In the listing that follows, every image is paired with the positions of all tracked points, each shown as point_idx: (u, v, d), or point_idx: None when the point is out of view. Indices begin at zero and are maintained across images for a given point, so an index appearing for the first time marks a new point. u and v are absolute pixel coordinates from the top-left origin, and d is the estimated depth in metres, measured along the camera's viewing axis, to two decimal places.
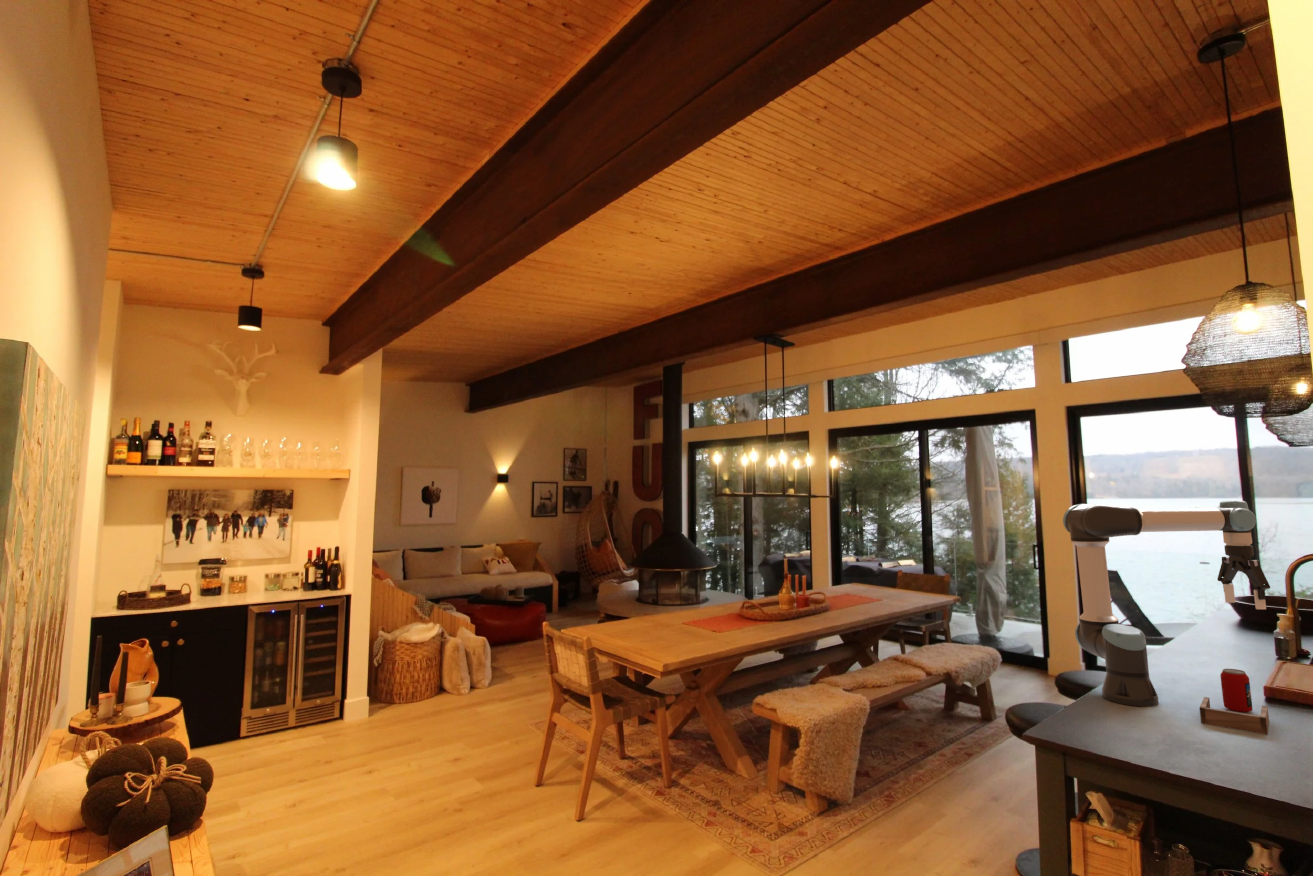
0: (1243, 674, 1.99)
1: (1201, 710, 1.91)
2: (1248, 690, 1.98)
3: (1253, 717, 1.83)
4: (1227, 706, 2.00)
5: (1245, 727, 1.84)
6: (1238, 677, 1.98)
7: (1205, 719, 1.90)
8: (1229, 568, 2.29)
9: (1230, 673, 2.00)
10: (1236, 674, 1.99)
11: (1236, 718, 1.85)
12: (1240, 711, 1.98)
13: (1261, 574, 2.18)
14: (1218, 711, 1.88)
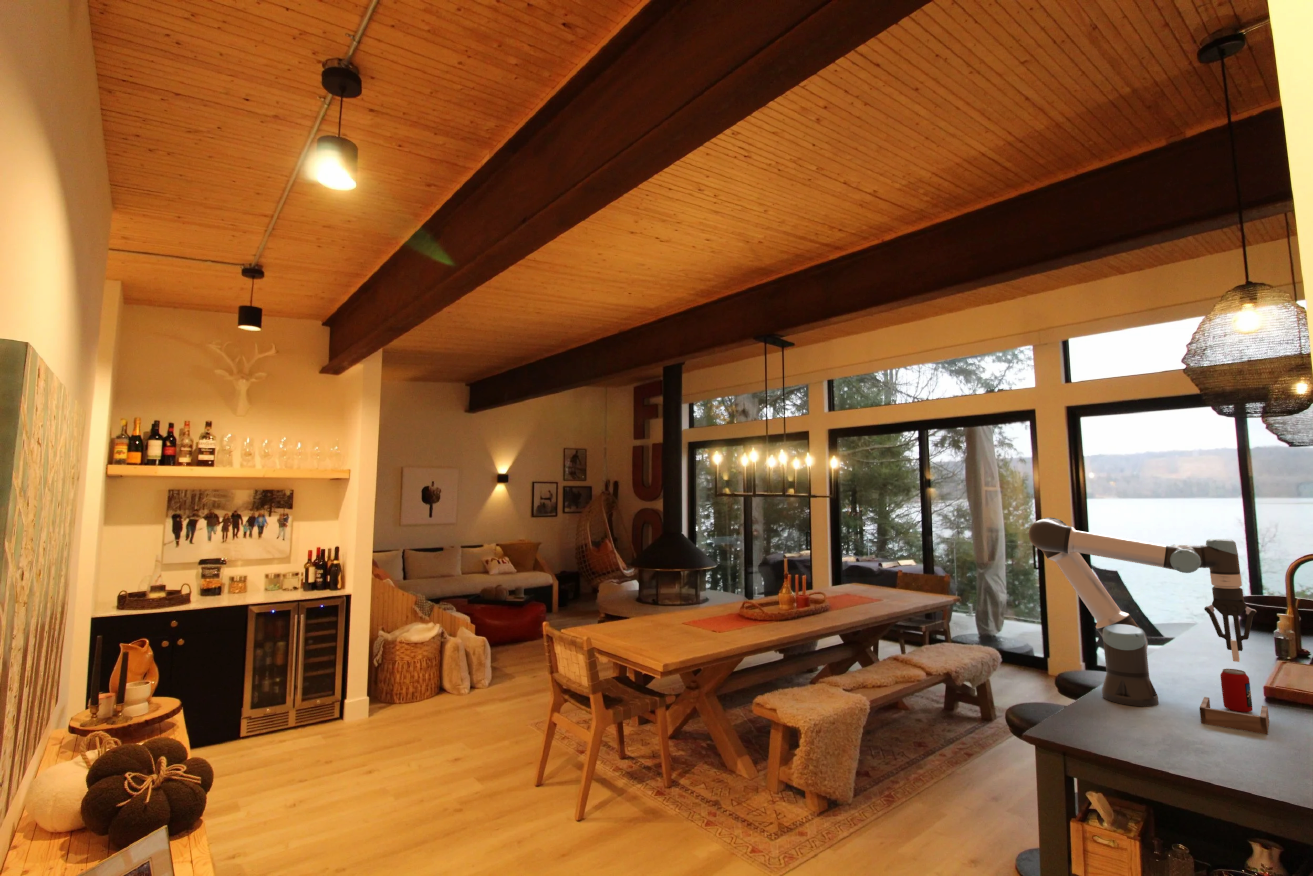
0: (1243, 674, 1.99)
1: (1201, 710, 1.91)
2: (1248, 690, 1.98)
3: (1253, 717, 1.83)
4: (1227, 706, 2.00)
5: (1245, 727, 1.84)
6: (1238, 677, 1.98)
7: (1205, 719, 1.90)
8: None
9: (1230, 673, 2.00)
10: (1236, 674, 1.99)
11: (1236, 718, 1.85)
12: (1240, 711, 1.98)
13: (1212, 622, 2.12)
14: (1218, 711, 1.88)
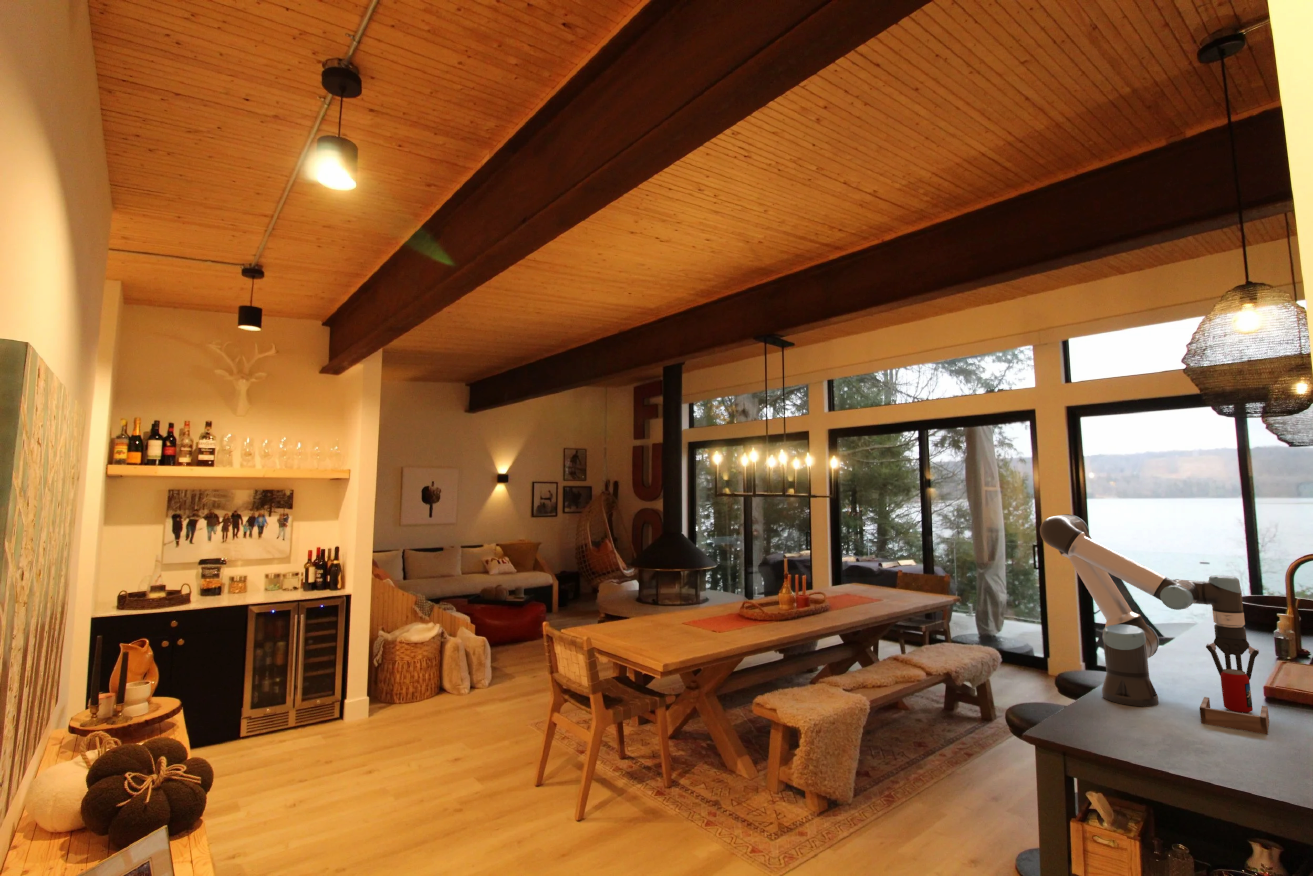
0: (1243, 674, 1.98)
1: (1201, 710, 1.91)
2: (1248, 690, 1.97)
3: (1253, 717, 1.83)
4: (1227, 706, 2.00)
5: (1245, 727, 1.84)
6: (1237, 678, 1.98)
7: (1205, 719, 1.90)
8: None
9: (1230, 673, 2.00)
10: (1236, 674, 1.99)
11: (1236, 718, 1.85)
12: (1240, 711, 1.97)
13: (1214, 660, 2.08)
14: (1218, 711, 1.88)
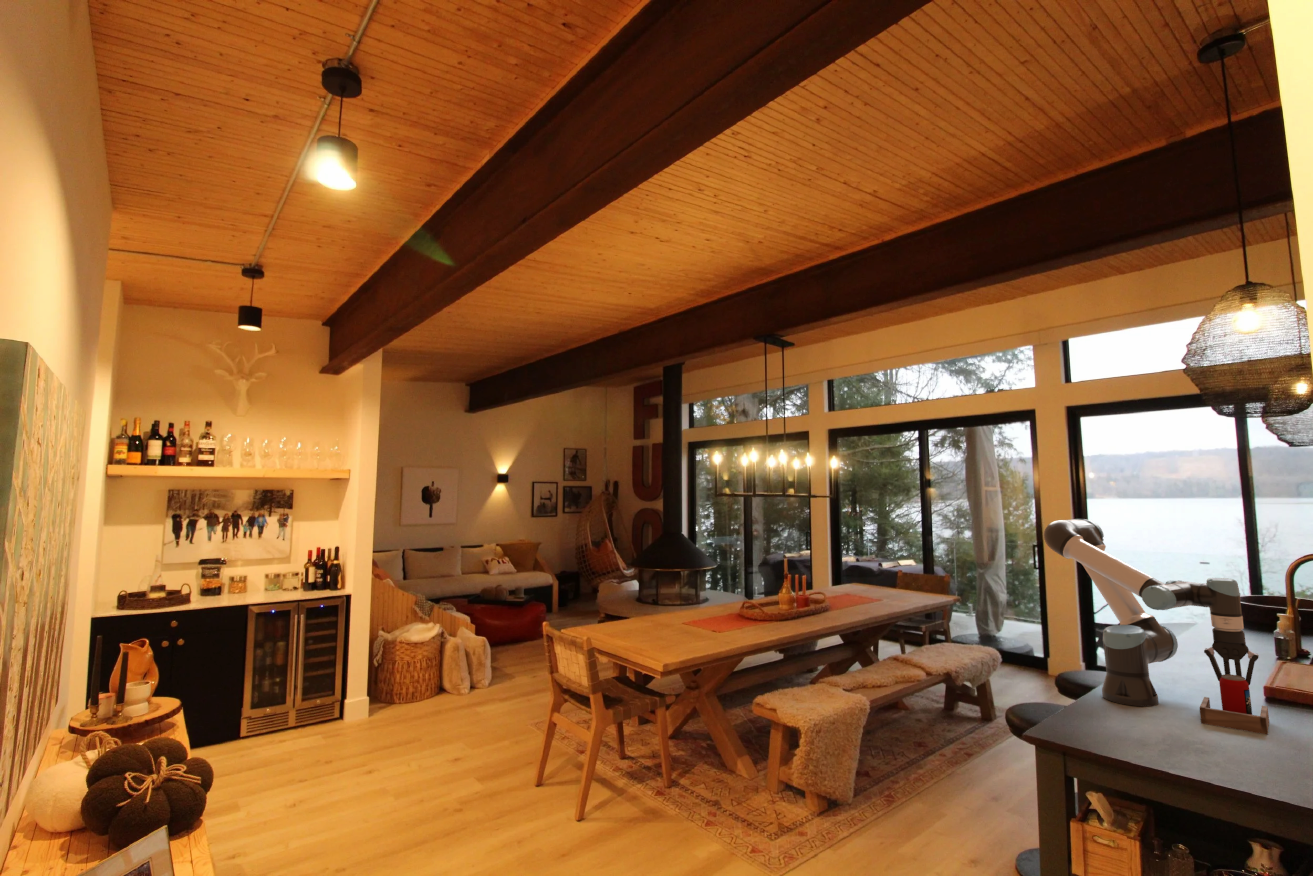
0: (1242, 680, 1.93)
1: (1201, 710, 1.91)
2: (1247, 697, 1.92)
3: (1253, 717, 1.83)
4: None
5: (1245, 727, 1.84)
6: (1236, 684, 1.92)
7: (1205, 719, 1.90)
8: None
9: (1229, 679, 1.94)
10: (1235, 680, 1.93)
11: (1236, 718, 1.85)
12: None
13: (1212, 665, 2.02)
14: (1218, 711, 1.88)
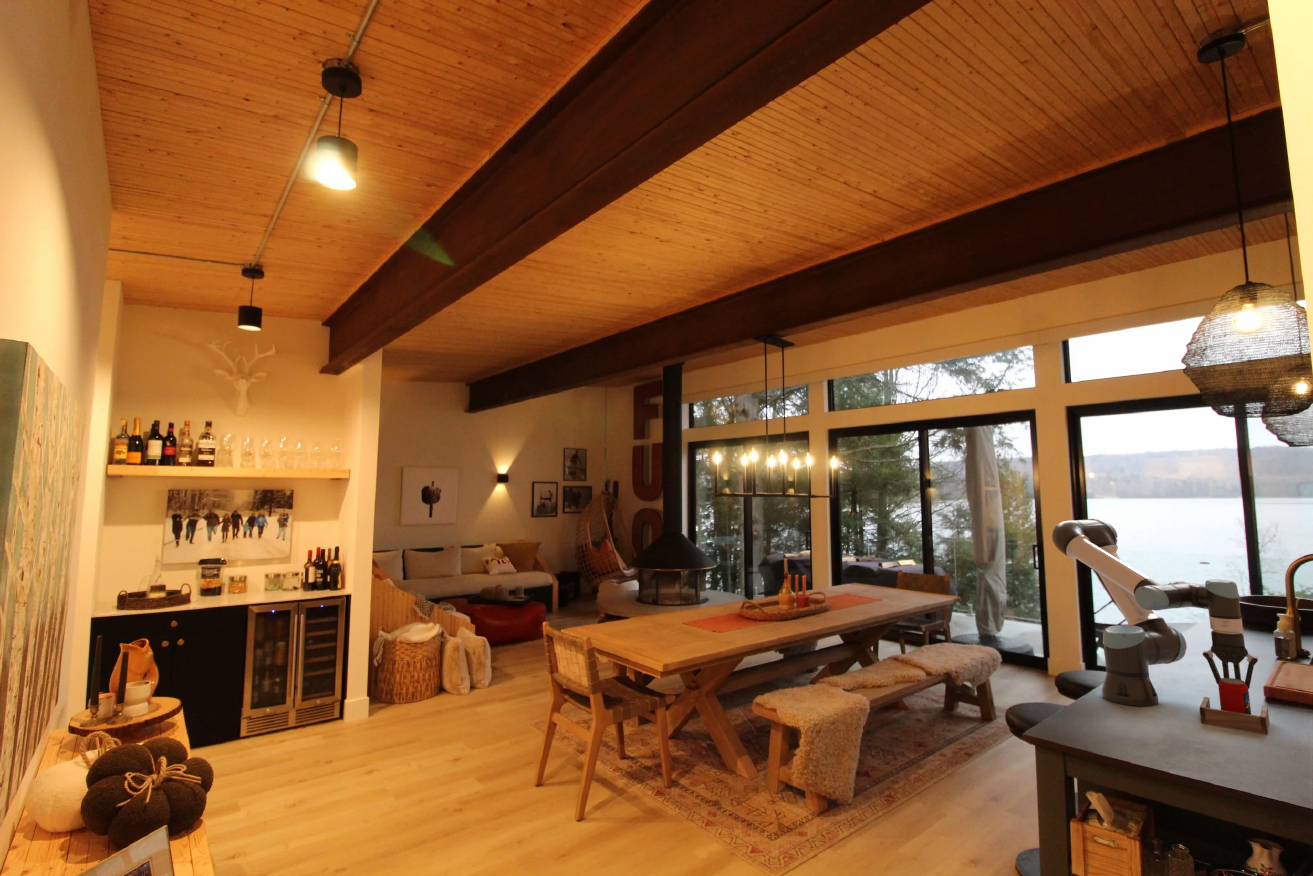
0: (1242, 684, 1.89)
1: (1201, 710, 1.91)
2: (1247, 701, 1.88)
3: (1253, 717, 1.83)
4: None
5: (1245, 727, 1.84)
6: (1236, 687, 1.89)
7: (1205, 719, 1.90)
8: None
9: (1228, 683, 1.91)
10: (1235, 683, 1.90)
11: (1236, 718, 1.85)
12: None
13: (1211, 668, 1.99)
14: (1218, 711, 1.88)
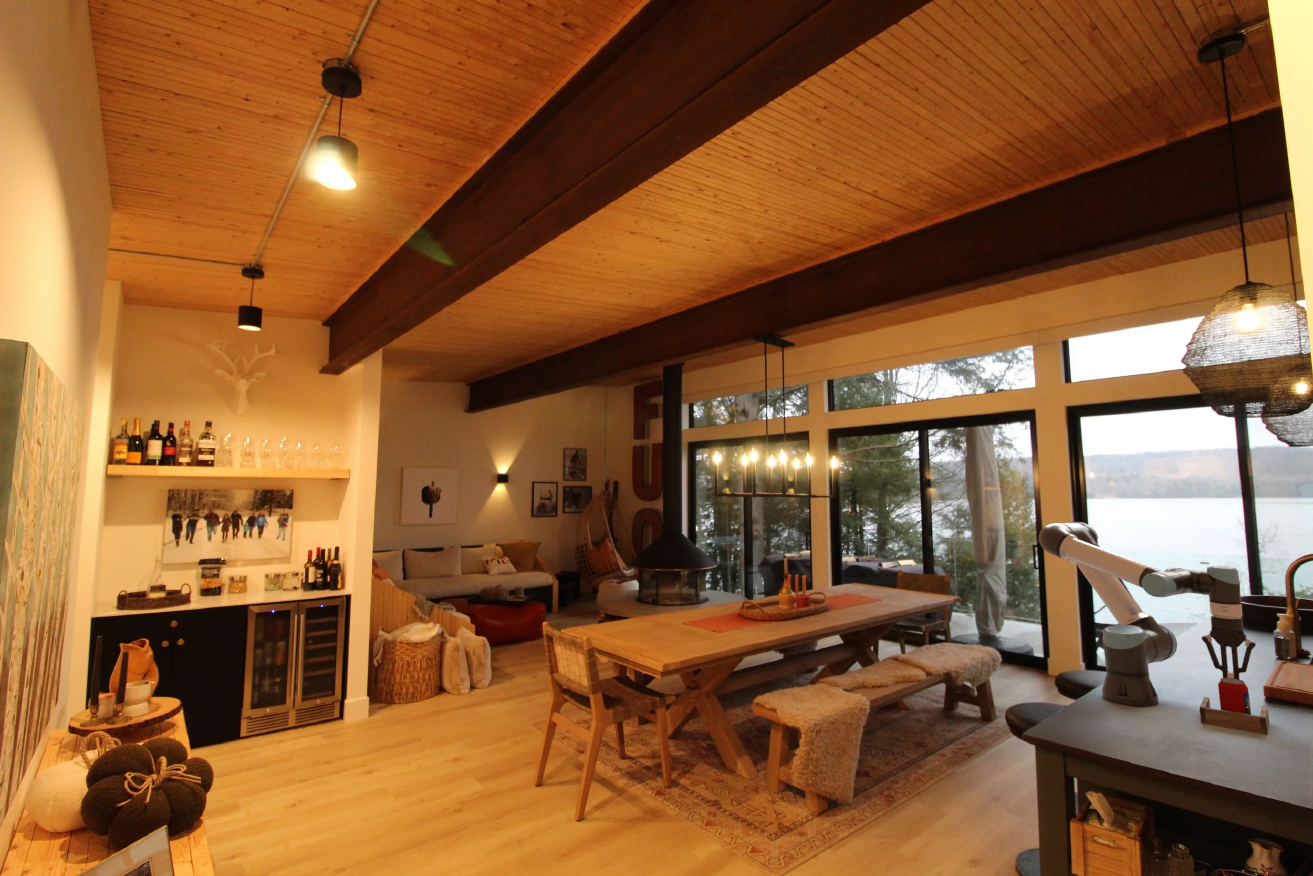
0: (1242, 684, 1.89)
1: (1201, 710, 1.91)
2: (1247, 701, 1.88)
3: (1253, 717, 1.83)
4: None
5: (1245, 727, 1.84)
6: (1236, 687, 1.89)
7: (1205, 719, 1.90)
8: None
9: (1228, 683, 1.91)
10: (1235, 683, 1.90)
11: (1236, 718, 1.85)
12: None
13: None
14: (1218, 711, 1.88)
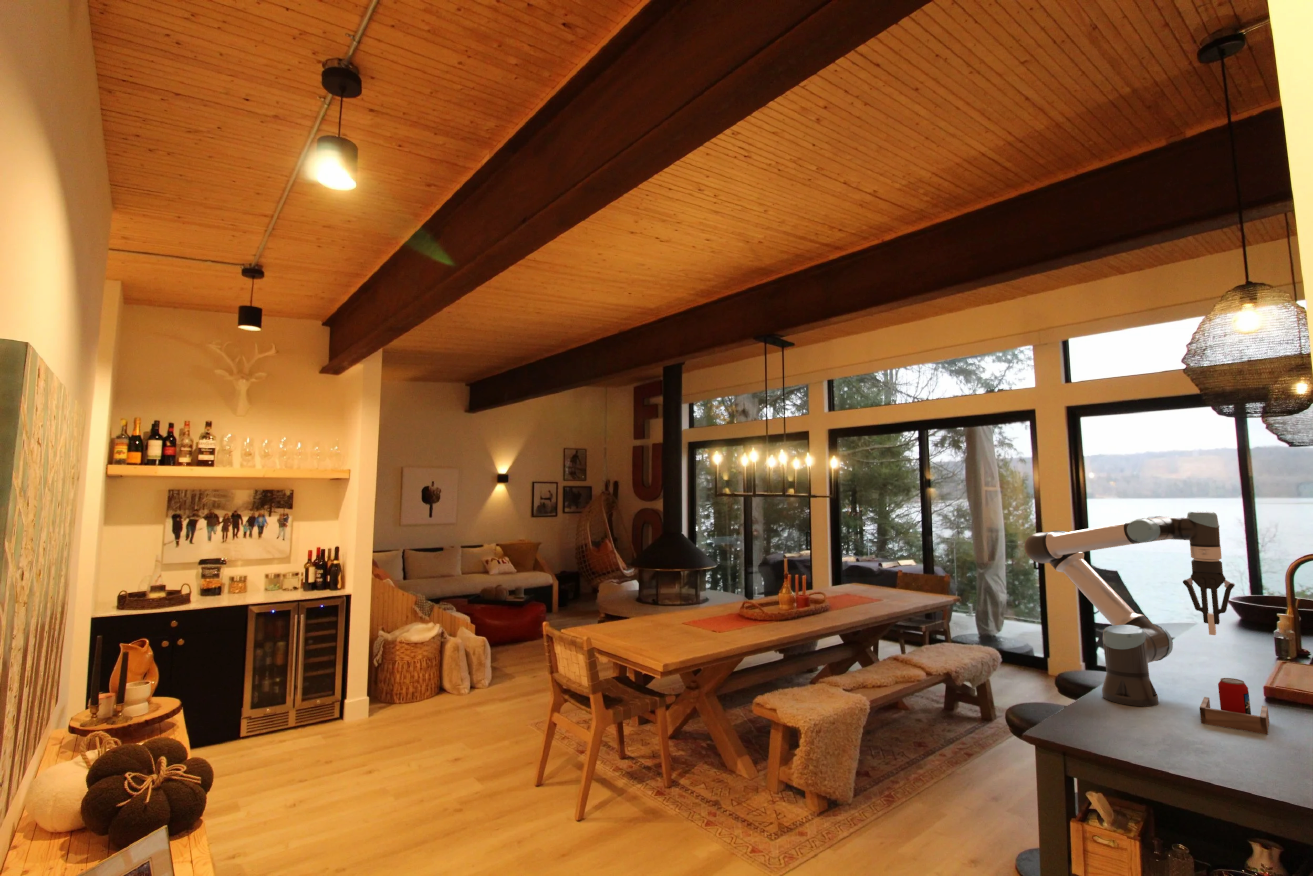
0: (1242, 684, 1.89)
1: (1201, 710, 1.91)
2: (1247, 701, 1.88)
3: (1253, 717, 1.83)
4: None
5: (1245, 727, 1.84)
6: (1236, 687, 1.89)
7: (1205, 719, 1.90)
8: None
9: (1228, 683, 1.91)
10: (1235, 683, 1.90)
11: (1236, 718, 1.85)
12: None
13: None
14: (1218, 711, 1.88)
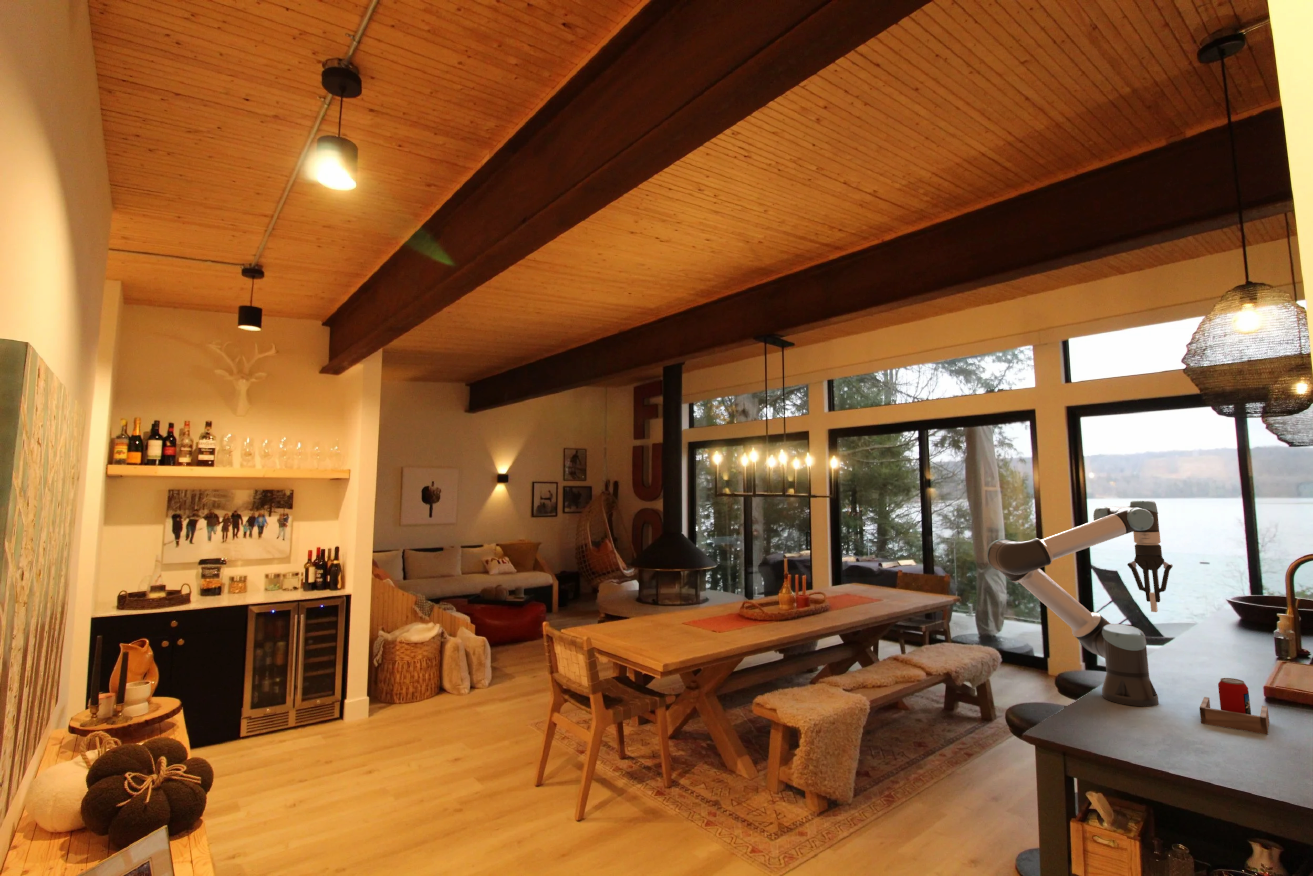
0: (1242, 684, 1.89)
1: (1201, 710, 1.91)
2: (1247, 701, 1.88)
3: (1253, 717, 1.83)
4: None
5: (1245, 727, 1.84)
6: (1236, 687, 1.89)
7: (1205, 719, 1.90)
8: None
9: (1228, 683, 1.91)
10: (1235, 683, 1.90)
11: (1236, 718, 1.85)
12: None
13: None
14: (1218, 711, 1.88)
